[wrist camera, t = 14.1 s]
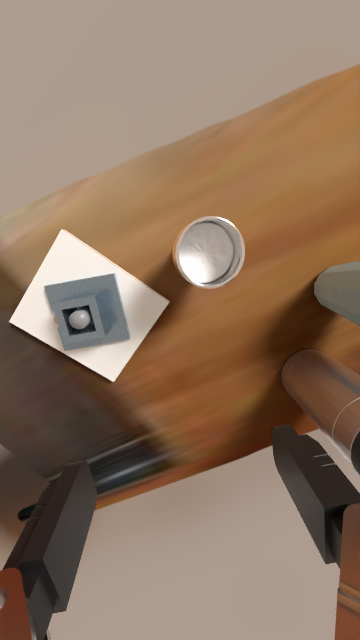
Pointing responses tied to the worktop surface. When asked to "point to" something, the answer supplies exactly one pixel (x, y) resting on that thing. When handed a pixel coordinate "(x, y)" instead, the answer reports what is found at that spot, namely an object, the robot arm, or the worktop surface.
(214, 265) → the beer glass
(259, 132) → the worktop surface
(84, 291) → the flange
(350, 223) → the worktop surface
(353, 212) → the worktop surface
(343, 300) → the disposable coffee cup
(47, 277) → the post base
